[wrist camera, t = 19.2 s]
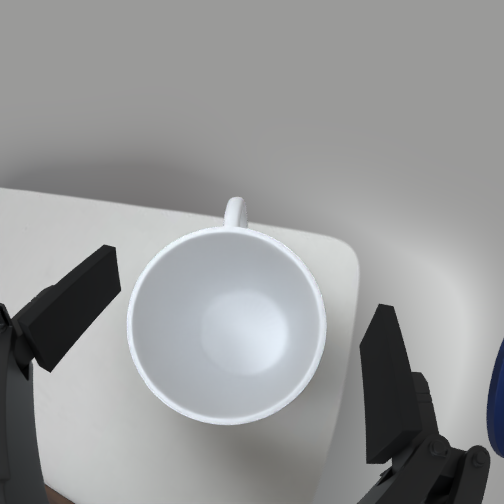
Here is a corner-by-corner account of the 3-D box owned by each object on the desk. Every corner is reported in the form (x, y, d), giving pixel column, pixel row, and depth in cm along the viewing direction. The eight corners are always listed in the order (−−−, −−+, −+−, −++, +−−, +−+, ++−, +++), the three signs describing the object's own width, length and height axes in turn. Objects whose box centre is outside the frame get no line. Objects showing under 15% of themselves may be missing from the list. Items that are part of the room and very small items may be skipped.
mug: (205, 237, 25) (160, 153, 13) (306, 247, 24) (338, 165, 13) (183, 377, 21) (110, 404, 10) (292, 392, 21) (318, 440, 9)
